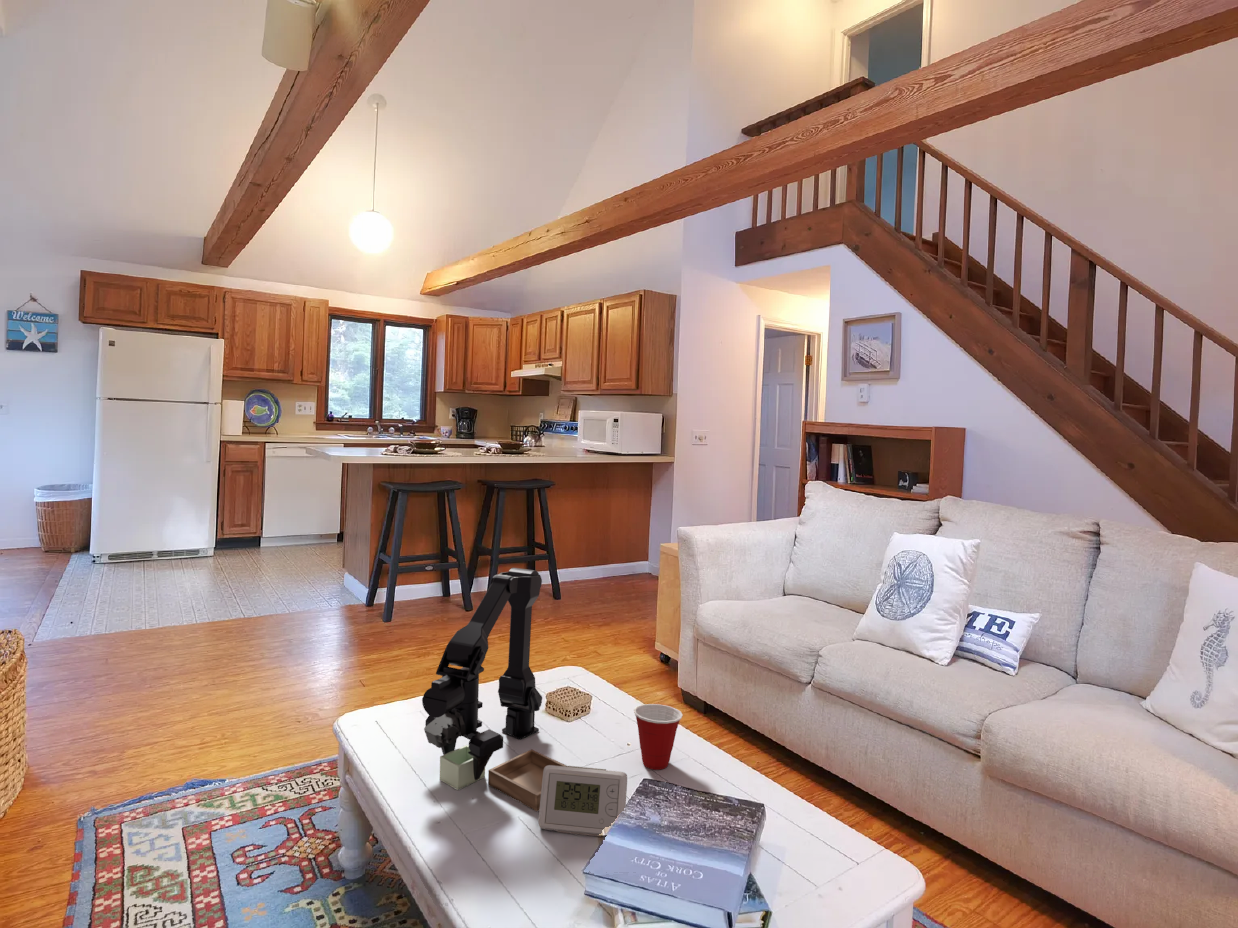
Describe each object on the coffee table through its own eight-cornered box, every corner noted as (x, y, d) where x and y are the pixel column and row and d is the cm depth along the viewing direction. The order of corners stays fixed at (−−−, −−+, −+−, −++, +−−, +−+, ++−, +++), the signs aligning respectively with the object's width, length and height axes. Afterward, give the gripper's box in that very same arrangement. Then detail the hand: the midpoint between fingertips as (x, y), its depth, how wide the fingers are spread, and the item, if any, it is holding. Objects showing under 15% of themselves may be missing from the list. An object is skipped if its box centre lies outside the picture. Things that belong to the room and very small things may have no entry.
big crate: (531, 763, 153) (531, 749, 153) (579, 786, 144) (579, 771, 144) (488, 784, 143) (488, 769, 143) (536, 811, 134) (537, 795, 134)
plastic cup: (687, 759, 157) (690, 707, 156) (668, 780, 148) (671, 725, 147) (644, 746, 162) (646, 696, 161) (623, 766, 153) (625, 713, 152)
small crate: (466, 767, 150) (467, 744, 150) (484, 776, 146) (485, 753, 146) (439, 779, 145) (440, 756, 144) (458, 790, 141) (458, 766, 140)
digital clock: (533, 830, 128) (534, 774, 128) (552, 805, 137) (554, 752, 136) (616, 850, 123) (619, 792, 123) (631, 822, 132) (633, 768, 131)
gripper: (404, 697, 144) (402, 770, 145) (461, 724, 132) (460, 803, 133) (448, 682, 153) (446, 751, 154) (506, 706, 141) (504, 781, 142)
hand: (462, 771), depth 145 cm, fingers open, 9 cm apart
